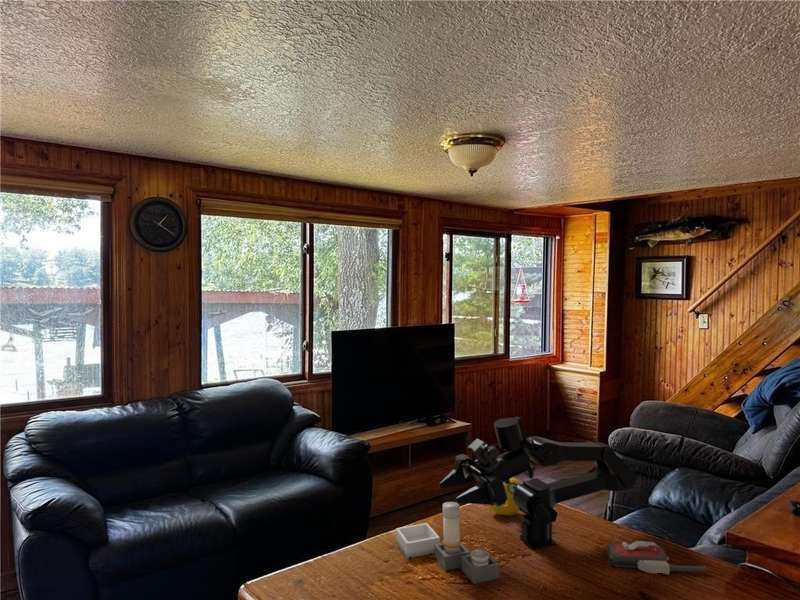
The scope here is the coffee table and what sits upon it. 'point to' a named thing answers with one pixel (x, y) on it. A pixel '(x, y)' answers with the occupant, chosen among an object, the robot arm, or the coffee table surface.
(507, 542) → the coffee table surface
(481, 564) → the white dome piece
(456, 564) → the grey square frame
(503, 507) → the duckling
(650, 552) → the toy chainsaw
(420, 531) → the tray
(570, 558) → the coffee table surface
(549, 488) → the robot arm
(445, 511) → the white bulb-shaped piece
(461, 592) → the coffee table surface
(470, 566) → the grey boxy piece
